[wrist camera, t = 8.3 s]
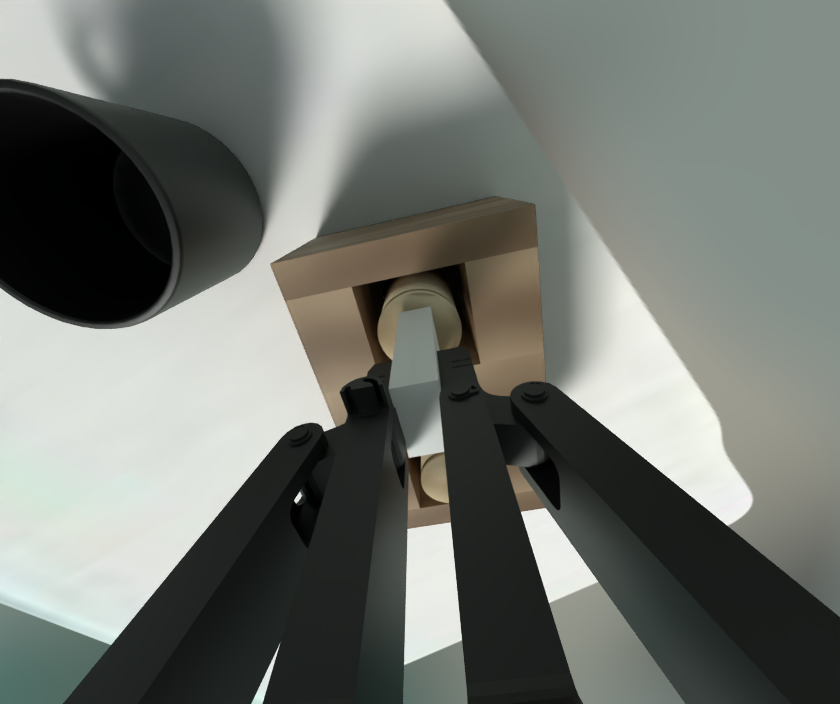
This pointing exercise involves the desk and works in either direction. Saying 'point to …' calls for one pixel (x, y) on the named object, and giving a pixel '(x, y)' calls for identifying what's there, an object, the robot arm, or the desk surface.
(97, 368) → the desk surface
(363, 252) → the walnut block
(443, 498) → the peg
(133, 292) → the mug
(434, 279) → the peg
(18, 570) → the desk surface
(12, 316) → the desk surface
